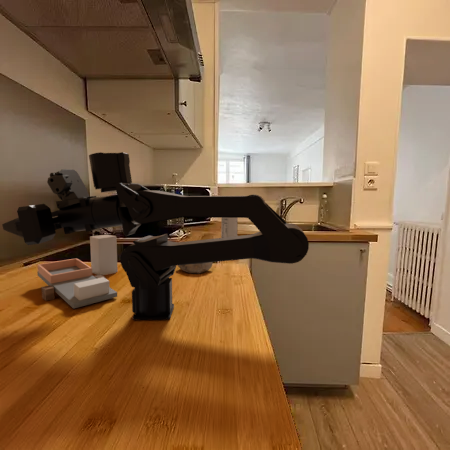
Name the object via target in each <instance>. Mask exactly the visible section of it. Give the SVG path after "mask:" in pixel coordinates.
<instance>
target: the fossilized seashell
mask: <svg viewBox="0 0 450 450" xmlns="http://www.w3.org/2000/svg"><path fill="white" fill-rule="evenodd" d="M213 263H214V262H209V263H198V264H187V265H177V267H178V268H179V269H180V270H182V272H183V271H184V272H186V273H190V274H202V273H205V272H206V271H209V270H210V269H211V268H212V266H213Z"/></svg>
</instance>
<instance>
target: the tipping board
mask: <svg viewBox="0 0 450 450" xmlns="http://www.w3.org/2000/svg"><path fill="white" fill-rule="evenodd" d="M36 271H37V277H39V278H40V280H42V281H43V282H44V283H45V284H46V286H49V285H50V286H52V287H53V288H54V293H56V294H57V295H58V297H60V298H61V299H63V300H64V301H65V303H66V304H68V305H69V306H70V307H71V308H72V309H77V308H81V307H84V306H89V305H93V304H94V303H99V302H103V301H106V300H111V299H115V298H118V291H116V290H114V289H113V288H112V287H110V280H109V279H107V278H106V277H105V276H104V277H105V278H104V277H102V278H95V277H94V276H95V275H93V273H92V268H91V266H90V265H88V264H86V262H83V261H82V260H81V259H79V258H77V257H76V258H71V259H69V258H68V259H64V260H57V261H51V262H44V263H38V264H37V270H36Z"/></svg>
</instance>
